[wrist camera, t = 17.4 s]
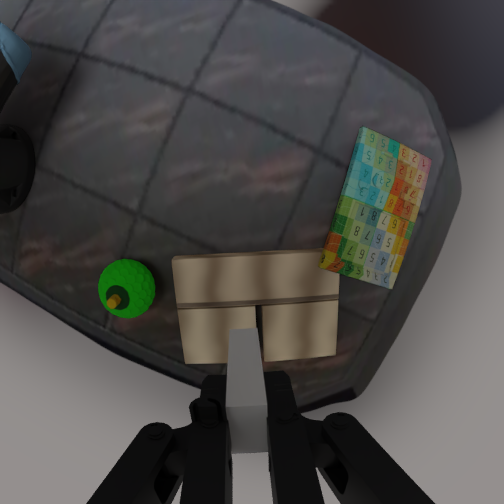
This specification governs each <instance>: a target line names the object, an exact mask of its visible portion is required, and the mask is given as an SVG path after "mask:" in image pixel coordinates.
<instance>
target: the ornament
mask: <svg viewBox="0 0 504 504" xmlns="http://www.w3.org/2000/svg"><path fill="white" fill-rule="evenodd" d="M98 292H99V296H100V300H101V302H102V303H103V305H104V307H105V308H106V309H107V310H109V311H110V312H111V313H112V314H113V315H116V316H118V317H122V318H131V317H132V318H134V317H137V316H138V315H141V314H143V313H144V312H145V311H147V310H148V309H149V306H150V305H151V304H152V302H153V299H154V297H155V285H154V279H153V277H152V274H151V272H150V271H149V270H148V269H147V267H146V266H144V265H143V264H141V263H140V262H138V261H134V260H131V259H121V260H116V261H115V262H113V263H112V264H110V265H108V266H107V268H105V269H104V271H103V273H102V274H101V276H100V280H99V282H98Z"/></svg>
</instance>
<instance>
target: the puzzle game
mask: <svg viewBox="0 0 504 504" xmlns="http://www.w3.org/2000/svg"><path fill="white" fill-rule="evenodd" d="M430 166H431V159H430V158H428V157H426V156H424V155H422V154H421V153H419V152H417V151H415V150H413V149H411V148H409V147H407V146H405V145H403V144H401V143H399V142H397V141H395V140H393V139H391V138H389V137H386V136H384V135H382V134H380V133H378V132H376V131H373V130H371V129H369V128H367V127H364V126H362V127H360V129H359V133H358V137H357V140H356V144H355V148H354V151H353V155H352V158H351V162H350V165H349V169H348V172H347V176H346V179H345V182H344V186H343V189H342V192H341V196H340V199H339V202H338V205H337V208H336V212H335V215H334V218H333V221H332V224H331V227H330V230H329V233H328V236H327V239H326V242H325V245H324V248H323V251H322V254H321V257H320V260H319V264H318V267H319V268H321V269H324V270H328V271H331V272H335V273H338V274H341V275H345V276H348V277H351V278H355V279H358V280H361V281H365V282H368V283H371V284H375V285H378V286H381V287H384V288H388V289H391V290H392V288H393V285H394V283H395V280H396V277H397V274H398V272H399V269H400V266H401V263H402V260H403V257H404V254H405V252H406V249H407V246H408V243H409V240H410V237H411V233H412V230H413V227H414V224H415V221H416V217H417V214H418V211H419V207H420V204H421V200H422V197H423V193H424V189H425V186H426V182H427V178H428V174H429V170H430Z"/></svg>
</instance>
